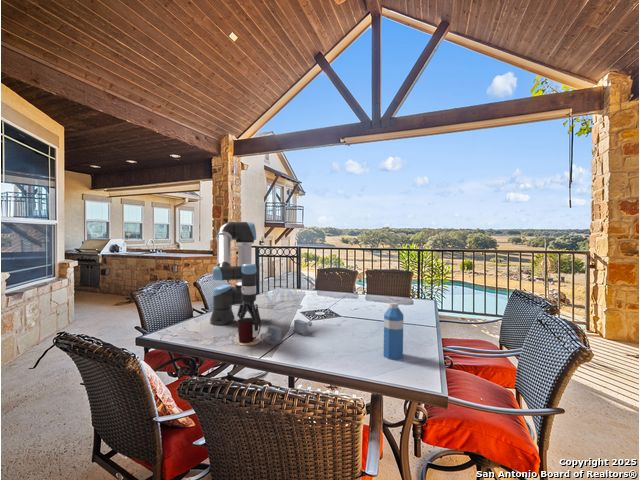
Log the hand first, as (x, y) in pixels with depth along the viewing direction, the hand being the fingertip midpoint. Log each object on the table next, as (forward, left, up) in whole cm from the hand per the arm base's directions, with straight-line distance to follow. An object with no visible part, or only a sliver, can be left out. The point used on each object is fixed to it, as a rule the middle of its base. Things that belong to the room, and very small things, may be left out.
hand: (248, 333), depth 158 cm
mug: (0, 0, -4) cm, 4 cm away
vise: (+8, +20, -4) cm, 22 cm away
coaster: (0, 0, -4) cm, 4 cm away
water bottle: (+62, +41, -5) cm, 74 cm away
